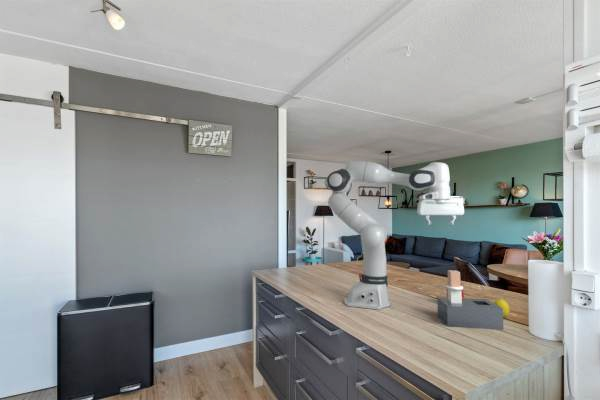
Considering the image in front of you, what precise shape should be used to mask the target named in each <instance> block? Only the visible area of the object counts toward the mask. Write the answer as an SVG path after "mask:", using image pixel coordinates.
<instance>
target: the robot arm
mask: <svg viewBox="0 0 600 400" xmlns="http://www.w3.org/2000/svg"><path fill="white" fill-rule="evenodd" d="M450 177H451V176H450V169H449V165H448V164H447V163H445V162H442V161H432V162H430V163H429V164H428V165H426V166H424V167H421V168H419V169H416V170H414V171H412V172H411V173H410V174H409V173H403V172H397V171H392V170H390V169H388V168H386V167H385V166H383V165H382V164H379V163H377V162H373V161H368V160H367V161H366V160H351V161H349V162H347V164H346V165H345V168H341V169H338V170H335V171H332V172H330V173H329V174H328V176H327V177H326V184H327V187H328V188H329V189H330V190H331V193H332V194H331V195H330V196H329V198H328V200H327V205H328V207H329V208H330V209H331V211H332V212H333V214H335V215H336V216H337V217H338V218H339V219H340V220H341V222H343V223H344V224H345V225H347V227H349V229H351V230H352V231H354V232H356V233H357V234H358V235H360V241H361V249H362V256H363V258H362V259H363V273H358V278H359V281H358V282H357V283H356V284H354V285H353V286H351V287H350V289H349V291H348V295H347V296H345V297H344V299H343V303H344V305H346V306H347V307H354V308H355V307H356V308H363V309H370V310H382V309H383V308H388V307H390V306H391V301H390V296H389V291H388V286H389V278H388V275H387V271H388V269H387V256H386V255H387V254H386V246H385V244H386V243H385V242H387V239H388V232H387V229H386V228H385V227H384V226H383V224H382V225H381V223H379V222H378V221H377V220H375V219H374V218H373V217H372V216H370V215H369V214H368V213H367V212H365V211H364V210H363V209H361V207H360V206H359V205H357V204H356V203H355V202H354V201H352V200H351V199H350V198H349V196H348V195H349V193H350V192H351V189H352V183H355V182H361V183H364V184H365V183H366V184H392V185H398V186H404V187H407V188H408V189H411V190H413V191H414V192H416V193H417V192H419V193H420V192H424V191H426V190H427V189H429V192H426V193H424V194H421V195H420V196H419V201H418V202H417V207H416V209H417V210H416V213H417V215H418V216H424V219H426V221H427V225H428V226H433V221H431V220H430V216H451V217H450V218H451V220H450V221H448V225H449V226H454V222H455V220H456V219H457V216H463V215H464V214H465V206H464V197H463V196H461V195H451V187H450V181H451V178H450Z"/></svg>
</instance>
